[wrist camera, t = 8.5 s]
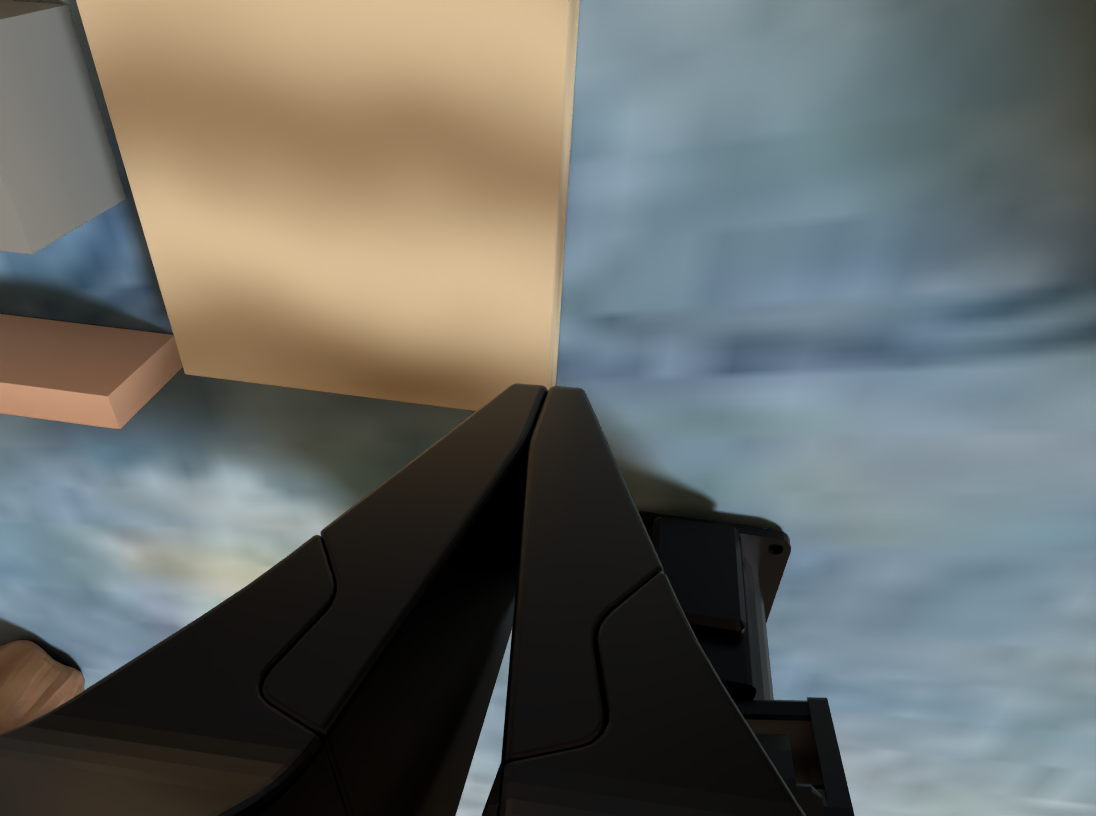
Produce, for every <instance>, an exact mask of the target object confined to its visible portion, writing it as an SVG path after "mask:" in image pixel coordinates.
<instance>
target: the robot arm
mask: <svg viewBox="0 0 1096 816" xmlns="http://www.w3.org/2000/svg"><path fill="white" fill-rule="evenodd" d="M772 544H779V545H777V546H771V545H772ZM790 552H791V546H790V539H789V537H788V535H787V534H785V533H784V532H782V531H779V530H772V529H765V528H758V527H750V526H743V525H736V524H728V523H721V522H714V521H707V520H699V519H692V518H685V517H677V516H670V515H663V514H655V513H648V512H641V511H638V510H637V508H636V506H635V503H634V501H633V499H632V497H631V494H630V492H629V490H628V488H627V485H626V483H625V481H624V479H623V476H622V474H621V472H620V470H619V467H618V465H617V463H616V460H615V458H614V456H613V454H612V451H611V449H610V447H609V445H608V442H607V440H606V438H605V436H604V433H603V431H602V429H601V427H600V424H599V422H598V420H597V417H596V415H595V413H594V411H593V408H592V406H591V404H590V402H589V399H588V397H587V395H586V393H585V391H584V390H583V389H581V388H571V387H558V386H553V387H551V388H549V390H547V388H546V387H545V386H543V385H533V384H521V383H515V384H512V385H510V386H509V387H507V388H506V389H505V390H504V391H502V392H501V393H500V394H498V395H497V396H496V397H494V398H493V399H492V400H491V401H489V402H488V403H487V404H485V405H484V406H483V407H481V408H480V409H479V410H478V411H476V412H475V413H474V414H472V415H471V416H470V417H468V418H467V419H466V420H465V421H463V422H462V423H461V424H459V425H458V426H457V427H455V428H454V429H453V430H452V431H450V432H449V433H448V434H446V435H445V436H444V437H442V438H441V439H440V440H439V441H437V442H436V443H435V444H433V445H432V446H431V447H429V448H428V449H427V450H426V451H424V452H423V453H422V454H420V455H419V456H418V457H416V458H415V459H414V460H413V461H411V462H410V463H409V464H407V465H406V466H405V467H403V468H402V469H401V470H400V471H398V472H397V473H396V474H394V475H393V476H392V477H390V478H389V479H388V480H387V481H385V482H384V483H383V484H381V485H380V486H379V487H377V488H376V489H375V490H373V491H372V492H371V493H370V494H368V495H367V496H366V497H364V498H363V499H362V500H360V501H359V502H358V503H357V504H355V505H354V506H353V507H351V508H350V509H349V510H347V511H346V512H345V513H344V514H342V515H341V516H340V517H338V518H337V519H336V520H334V521H333V522H332V523H331V524H329V525H328V526H327V527H325V528H324V529H323V530H322V531H321V536H319V535H315V536H313V537H312V538H311V539H309V540H308V541H307V542H305V543H304V544H303V545H302V546H300V547H299V548H298V549H296V550H295V551H294V552H292V553H291V554H290V555H288V556H287V557H286V558H284V559H283V560H282V561H280V562H279V563H277V564H276V565H275V566H273V567H272V568H271V569H269V570H268V571H267V572H265V573H264V574H262V575H261V576H260V577H258V578H257V579H256V580H254V581H253V582H251V583H250V584H249V585H247V586H246V587H244V588H243V589H241V590H240V591H238V592H237V593H235V594H234V595H232V596H231V597H229V598H228V599H226V600H225V601H223V602H222V603H220V604H219V605H217V606H216V607H214V608H213V609H211V610H210V611H208V612H207V613H205V614H204V615H202V616H201V617H199V618H198V619H196V620H194V621H193V622H191V623H190V624H188V625H187V626H185V627H183V628H182V629H180V630H179V631H177V632H176V633H174V634H172V635H171V636H169V637H168V638H166V639H164V640H163V641H161V642H160V643H158V644H157V645H155V646H153V647H152V648H150V649H149V650H147V651H146V652H144V653H142V654H141V655H139V656H138V657H136V658H135V659H133V660H131V661H130V662H128V663H127V664H125V665H124V666H122V667H120V668H119V669H117V670H116V671H114V672H113V673H111V674H109V675H108V676H106V677H105V678H103V679H101V680H100V681H98V682H97V683H95V684H94V685H92V686H90V687H89V688H87V689H86V690H84V691H83V692H81V693H79V694H78V695H76V696H75V697H73V698H72V699H70V700H68V701H66V702H65V703H63V704H61V705H60V706H58V707H56V708H55V709H53V710H51V711H49V712H48V713H46V714H44V715H42V716H40V717H38V718H36V719H34V720H32V721H30V722H28V723H26V724H24V725H22V726H20V727H17V728H15V729H12V730H10V731H7V732H5V733H2V734H0V816H455V815H456V812H457V809H458V805H459V802H460V799H461V795H462V792H463V789H464V785H465V782H466V779H467V776H468V772H469V769H470V766H471V762H472V759H473V756H474V752H475V749H476V746H477V742H478V739H479V736H480V732H481V729H482V726H483V723H484V719H485V716H486V713H487V709H488V706H489V703H490V699H491V696H492V693H493V689H494V686H495V683H496V679H497V676H498V673H499V670H500V666H501V663H502V660H503V656H504V653H505V650H506V646H507V643H508V640H509V636H510V633H511V630H512V639H511V651H510V663H509V675H508V687H507V699H506V711H505V723H504V735H503V748H502V760H501V764H500V767H499V769H498V772H497V775H496V778H495V780H494V783H493V786H492V789H491V791H490V794H489V797H488V799H487V802H486V805H485V808H484V810H483V813H482V816H854V812H853V807H852V803H851V798H850V794H849V790H848V786H847V781H846V777H845V773H844V768H843V764H842V760H841V756H840V751H839V747H838V743H837V739H836V734H835V730H834V726H833V721H832V717H831V713H830V709H829V704H828V700H827V698H811V697H807V701H796V700H774V698H773V688H772V678H771V669H770V659H769V650H768V640H767V630H766V622H767V619H768V616H769V613H770V610H771V607H772V604H773V601H774V599H775V596H776V593H777V590H778V587H779V584H780V581H781V578H782V575H783V572H784V569H785V566H786V563H787V560H788V558H789V555H790ZM512 626H513V627H512Z"/></svg>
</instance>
